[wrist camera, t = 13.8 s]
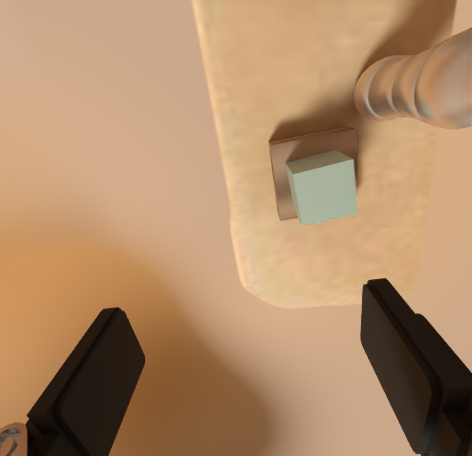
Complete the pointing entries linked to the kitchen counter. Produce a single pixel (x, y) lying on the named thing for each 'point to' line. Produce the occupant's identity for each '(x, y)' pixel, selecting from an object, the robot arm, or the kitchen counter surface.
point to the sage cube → (322, 187)
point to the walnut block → (302, 148)
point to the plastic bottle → (421, 85)
